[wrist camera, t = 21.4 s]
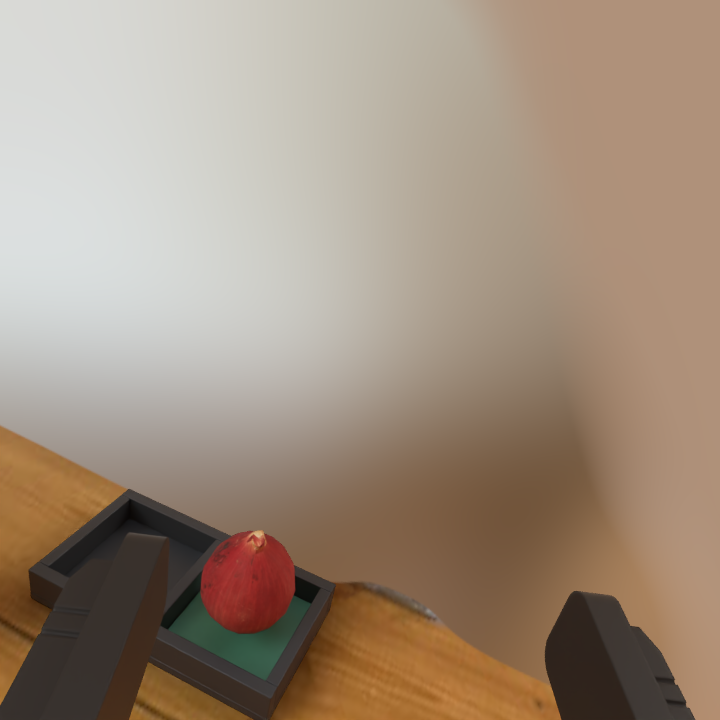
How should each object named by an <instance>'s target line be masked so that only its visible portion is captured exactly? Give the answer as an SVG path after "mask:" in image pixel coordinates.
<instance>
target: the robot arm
mask: <svg viewBox="0 0 720 720" xmlns="http://www.w3.org/2000/svg"><path fill="white" fill-rule="evenodd" d="M169 544H170V542H169V538H168V537H162V536H154V535H146V534H138V533H130V532H129V533H128V534H127V535H126V537H125V538H124V540H123V542H122V544H121V546H120V549H119V551H118V553H117V555H116V557H115V559H114V561H111V560H103V559H95V558H92V559H90V560H89V561H88V562H87V563H86V564H85V565H84V566H83V567H81V568H80V569H79V570H78V571H77V572H76V573H75V574H74V575H73V576H71V577H70V578H69V579H68V580H67V582H66V584H65V586H64V588H63V590H62V592H61V594H60V595H59V597H58V599H57V601H56V603H55V605H54V608H53V611H52V612H50V614H49V616H48V618H47V620H46V622H45V623H44V625H43V627H42V631H41V633H40V634H39V635H38V636H37V638H36V640H35V642H34V644H33V646H32V648H31V649H30V651H29V653H28V655H27V657H26V659H25V661H24V663H23V664H22V666H21V668H20V670H19V672H18V674H17V676H16V677H15V679H14V681H13V683H12V685H11V687H10V689H9V690H8V692H7V694H6V696H5V698H4V700H3V702H2V704H1V705H0V720H129V717H130V714H131V711H132V708H133V705H134V702H135V699H136V696H137V693H138V690H139V687H140V684H141V681H142V678H143V675H144V672H145V669H146V666H147V663H148V661H149V658H150V655H151V652H152V649H153V646H154V643H155V640H156V637H157V634H158V631H159V628H160V624H161V621H162V617H163V613H164V609H165V604H166V597H167V586H168V565H169ZM545 663H546V670H547V674H548V677H549V680H550V684H551V687H552V690H553V693H554V696H555V700H556V703H557V706H558V709H559V713H560V716H561V719H562V720H695V718H694V716H693V714H692V712H691V710H690V708H687V707H686V700H685V699H684V697H683V695H682V693H681V691H680V689H679V687H678V685H675V683H674V680H675V679H674V677H673V675H672V673H671V671H670V669H669V667H668V666H667V663H666V662H665V659H664V657H663V655H662V653H661V652H660V650H659V649H658V648H657V647H656V646H655V645H654V644H653V642H652V641H651V640H650V639H649V638H648V637H647V636H646V634H645V633H644V632H643V631H642V630H641V629H640V628H639V627H634V626H630V624H629V622H628V620H627V618H626V616H625V614H624V612H623V610H622V608H621V605H620V604H619V602H618V601H617V599H616V598H615V597H613V596H610V595H603V594H596V593H588V592H580V591H574V592H573V593H571V594H570V596H569V598H568V599H567V602H566V603H565V605H564V608H563V609H562V611H561V613H560V615H559V617H558V619H557V621H556V623H555V625H554V627H553V629H552V631H551V633H550V635H549V637H548V639H547V642H546V648H545Z"/></svg>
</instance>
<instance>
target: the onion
mask: <svg viewBox="0 0 720 720" xmlns="http://www.w3.org/2000/svg"><path fill="white" fill-rule="evenodd" d="M294 592H295V568H294V565H293V562H292V560H291V558H290V556H289V555H288V553H287V551H286V549H285V548H284V546H283V545H282V544H281V543H279V542H278V541H277V540H275V539H274V538H273V537H272V536H269V535H267V534H264V532H263V531H262V530H259V531H247V532H242V533H238V534H235V535H233V536H232V537H230V538H228V539H227V540H225V541H224V542H222V543H221V544H220V545H219V546H217V548H216V549H215V551H214V552H213V554H212V555H211V557H210V558H209V560H208V561H207V563H206V564H205V566H204V568H203V572H202V577H201V592H200V593H201V598H202V602H203V604H204V606H205V608H206V610H207V612H208V613H209V615H210V616H211V617H212V618H213V619H214V620H215V621H216V622H218V623H219V624H220V625H221V626H222V627H224V628H225V629H227V630H229V631H232V632H235V633H238V634H254V633H257V632H260V631H263V630H265V629H268V628H270V627H271V626H272V625H273V624H275V623H276V622H277V621H278V620H279V619H280V618H281V617H282V616H283V615H284V614H285V613H286V612H287V609H288V607H289V605H290V602H291V600H292V598H293V595H294Z"/></svg>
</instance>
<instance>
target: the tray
mask: <svg viewBox="0 0 720 720" xmlns="http://www.w3.org/2000/svg"><path fill="white" fill-rule="evenodd" d="M129 532H130V533H138V534H146V535H154V536H162V537H168V538H169V542H170V544H169V565H168V586H167V597H166V604H165V609H164V613H163V617H162V621H161V624H160V628H159V631H158V634H157V637H156V640H155V643H154V646H153V649H152V652H151V655H150V658H149V661H148V662H150V663H152V664H153V665H155V666H157V667H159V668H161V669H163V670H164V671H166V672H168V673H170V674H172V675H174V676H175V677H177V678H179V679H181V680H183V681H185V682H186V683H188V684H190V685H192V686H194V687H196V688H197V689H199V690H201V691H203V692H205V693H207V694H208V695H210V696H212V697H214V698H216V699H218V700H219V701H221V702H223V703H225V704H227V705H229V706H230V707H232V708H234V709H236V710H238V711H240V712H241V713H243V714H245V715H247V716H249V717H251V718H252V719H254V720H269V719H270V717H271V715H272V714H273V712H274V710H275V708H276V706H277V705H278V703H279V701H280V699H281V697H282V695H283V694H284V692H285V690H286V688H287V686H288V685H289V683H290V681H291V679H292V677H293V676H294V674H295V672H296V670H297V668H298V666H299V665H300V663H301V661H302V659H303V657H304V656H305V654H306V652H307V650H308V648H309V646H310V645H311V643H312V641H313V639H314V637H315V636H316V634H317V632H318V630H319V628H320V626H321V625H322V623H323V621H324V619H325V617H326V616H327V614H328V612H329V610H330V606H331V602H332V598H333V594H334V590H335V586H336V585H335V584H334V583H331V582H329V581H327V580H325V579H322V578H321V577H318V576H316V575H314V574H312V573H310V572H307V571H305V570H303V569H301V568H299V567H297V566H294V568H295V592H294V595H293V598H292V600H291V602H290V605H289V607H288V609H287V612H286V613H285V614H284V615H283V616H282V617H281V618H280V619H279V620H278V621H277V622H276V623H275V624H273V625H272V626H271V627H270V628H268V629H265V630H263V631H260V632H257V633H254V634H238V633H235V632H232V631H229V630H227V629H225V628H224V627H222V626H221V625H220V624H219V623H218V622H216V621H215V620H214V619H213V618H212V617H211V616H210V615H209V613H208V612H207V610H206V608H205V606H204V604H203V602H202V598H201V593H200V592H201V577H202V572H203V568H204V566H205V564H206V563H207V561H208V560H209V558H210V557H211V555H212V554H213V552H214V551H215V549H216V548H217V546H219V545H220V544H221V543H222V542H224V541H225V540H227V539H228V538H230V537H232V536H230V535H228V534H226V533H223V532H221V531H219V530H217V529H215V528H212V527H210V526H208V525H206V524H204V523H202V522H200V521H197V520H195V519H193V518H191V517H189V516H187V515H185V514H182V513H180V512H178V511H176V510H174V509H172V508H169V507H167V506H165V505H163V504H161V503H159V502H156V501H154V500H152V499H150V498H148V497H146V496H143V495H141V494H139V493H137V492H135V491H133V490H131V489H128V490H127V491H126V492H124V493H123V494H122V495H121V496H120V497H119V498H117V499H116V500H115V501H114V502H112V503H111V504H110V505H109V506H107V507H106V508H105V509H104V510H102V511H101V512H100V513H99V514H97V515H96V516H95V517H94V518H92V519H91V520H90V521H89V522H87V523H86V524H85V525H84V526H83V527H81V528H80V529H79V530H78V531H76V532H75V533H74V534H73V535H71V536H70V537H69V538H68V539H66V540H65V541H64V542H63V543H61V544H60V545H59V546H58V547H56V548H55V549H54V550H53V551H51V552H50V553H49V554H48V555H47V556H45V557H44V558H43V559H42V560H40V561H39V562H38V563H36V564H35V565H34V566H33V567H31V568H30V569H29V580H30V590H31V598H32V599H34V600H36V601H38V602H40V603H42V604H43V605H45V606H47V607H49V608H51V609H53V608H54V605H55V603H56V601H57V599H58V597H59V595H60V594H61V592H62V590H63V588H64V586H65V584H66V582H67V580H68V579H69V578H70V577H71V576H73V575H74V574H75V573H76V572H77V571H78V570H79V569H80V568H81V567H83V566H84V565H85V564H86V563H87V562H88V561H89V560H90V559H92V558H95V559H103V560H111V561H114V559H115V557H116V555H117V553H118V551H119V549H120V546H121V544H122V542H123V540H124V538H125V537H126V535H127V534H128V533H129Z"/></svg>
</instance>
